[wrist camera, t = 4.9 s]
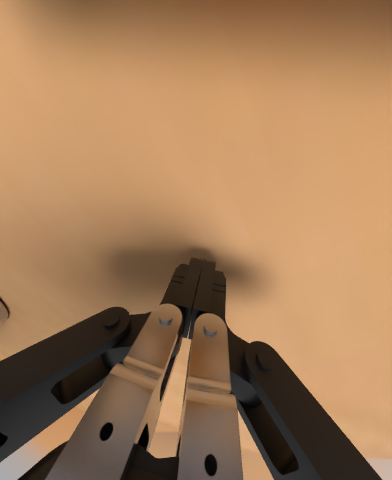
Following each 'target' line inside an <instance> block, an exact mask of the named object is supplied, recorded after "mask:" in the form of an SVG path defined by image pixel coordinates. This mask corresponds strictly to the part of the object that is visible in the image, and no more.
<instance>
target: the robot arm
mask: <svg viewBox="0 0 392 480" xmlns="http://www.w3.org/2000/svg"><path fill="white" fill-rule="evenodd" d="M202 264H203V267H202ZM215 264H216V262H212V261H207V260H204V263H203V260H202V259H197V258H191V261H190V264H189V265H185V264H181V265H180V266H179V267H177V268H176V270H175V272H174V274H173V277H172V279H171V282H170V283H169V286H168V288H167V290H166V293H165V295H164V297H163V299H162V302H161V304H160V305H159V306H157V307H156V308H155V309H154V310H153V311H151V312H149V313H146V314H136V315H129V312H128V311H127V310H126V309H124V308H122V307H111V308H108V309H106V310H104V311H102V312H100V313H98V314H96V315H94V316H92V317H90V318H88V319H85V320H83V321H81V322H79V323H77V324H75V325H73V326H71V327H69V328H67V329H65V330H63V331H61V332H59V333H57V334H55V335H53V336H51V337H49V338H47V339H45V340H43V341H41V342H38V343H36V344H34V345H32V346H30V347H28V348H26V349H24V350H22V351H20V352H18V353H16V354H14V355H12V356H10V357H8V358H6V359H4V360H2V361H0V462H1V461H3V460H4V459H5V458H7V457H8V456H9V455H10V454H12V453H13V452H15V451H16V450H17V449H19V448H20V447H21V446H23V445H24V444H25V443H27V442H28V441H29V440H31V439H32V438H33V437H35V436H36V435H37V434H39V433H40V432H41V431H43V430H44V429H45V428H47V427H48V426H50V425H51V424H52V423H53V422H55V421H56V420H58V419H59V418H60V417H62V416H63V415H64V414H66V413H67V412H68V411H70V410H71V409H72V408H74V407H75V406H76V405H78V404H79V403H80V402H82V401H83V400H84V399H86V398H87V397H88V396H90V395H91V394H92V393H94V392H95V391H96V390H98V389H99V388H100V387H101V388H100V389H99V391H98V393H97V394H96V396H95V398H94V399H93V401H92V402H91V404H90V406H89V407H88V409H87V411H86V412H85V414H84V416H83V418H82V419H81V421H80V423H79V424H78V426H77V427H76V429H75V431H74V433H73V434H72V436H71V438H70V439H69V440H68V441H66V442H65V443H63V444H61V445H59V446H58V447H57V448H55V449H54V450H52V451H51V452H50V453H48V454H47V455H46V456H45V457H44V458H42V459H41V460H40V461H39V462H38V463H37V464H35V465H34V466H33V467H32V468H31V469H30V470H28V471H27V472H26V473H25V474H24V475H23V476H21V477H20V478H19V479H18V480H243V471H242V459H241V447H240V435H239V423H238V411H239V413H240V415H241V417H242V419H243V420H244V422H245V424H246V426H247V428H248V430H249V432H250V434H251V436H252V438H253V440H254V442H255V444H256V446H257V447H258V449H259V451H260V453H261V455H262V457H263V459H264V461H265V463H266V465H267V467H268V468H269V470H270V472H271V474H272V476H273V478H274V480H382V479H381V478H380V476H379V475H378V474H377V473H376V472H375V470H374V469H373V468H372V467H371V466H370V464H369V463H368V462H367V461H366V459H365V458H364V457H363V456H362V455H361V453H360V452H359V451H358V450H357V449H356V447H355V446H354V445H353V444H352V443H351V441H350V440H349V439H348V438H347V437H346V435H345V434H344V433H343V432H342V430H341V429H340V428H339V427H338V426H337V424H336V423H335V422H334V421H333V420H332V418H331V417H330V416H329V415H328V414H327V412H326V411H325V410H324V409H323V407H322V406H321V405H320V404H319V403H318V401H317V400H316V399H315V398H314V397H313V395H312V394H311V393H310V392H309V391H308V389H307V388H306V387H305V386H304V385H303V383H302V382H301V381H300V380H299V378H298V377H297V376H296V375H295V374H294V372H293V371H292V370H291V369H290V368H289V366H288V365H287V364H286V363H285V362H284V360H283V359H282V358H281V357H280V356H279V354H278V353H277V352H276V351H275V350H274V349H273V348H272V347H271V346H269V345H268V344H266V343H264V342H260V341H254V342H251V343H250V344H249V343H248V342H246V341H244V340H242V339H241V338H239V337H237V336H236V335H235V334H234V333H232V331H231V330H230V329H229V328H228V326H227V324H226V320H225V301H226V278H225V276H224V274H223V272H219V271H215ZM201 270H202V271H201ZM7 318H8V312H7V310H6V308H5V306H4V305H3V304H2V302H1V301H0V324H1V323H2V322H3V321H5V320H6V319H7ZM190 322H191V325H190ZM189 327H190V331H189ZM188 331H189V337H188V339H192V341H191V346H190V352H189V357H188V365H187V373H186V381H185V389H184V397H183V404H182V412H181V419H180V426H179V433H178V441H177V449H176V456H175V457H169V458H161V459H159V458H155V457H154V456H152V455H151V454H150V453H149V452H148V450H149V447H150V444H151V441H152V438H153V435H154V431H155V428H156V425H157V421H158V418H159V414H160V409H161V406H162V402H163V399H164V396H165V393H166V390H167V386H168V383H169V380H170V377H171V374H172V371H173V368H174V365H175V362H176V359H177V356H178V352H179V350H180V346H181V342H182V338H183V337H184V338H187V336H188ZM237 409H238V411H237Z"/></svg>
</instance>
